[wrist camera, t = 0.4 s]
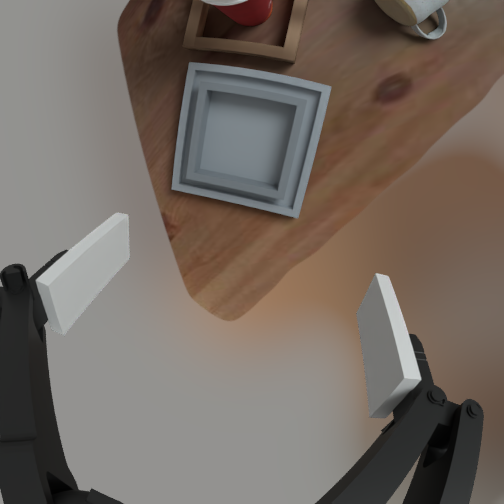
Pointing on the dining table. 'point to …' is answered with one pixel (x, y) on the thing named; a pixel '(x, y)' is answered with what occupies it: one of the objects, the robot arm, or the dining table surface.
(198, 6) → the walnut collar
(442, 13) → the ceramic mug
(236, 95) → the grey tray
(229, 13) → the paper cup
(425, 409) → the robot arm
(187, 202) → the dining table surface
